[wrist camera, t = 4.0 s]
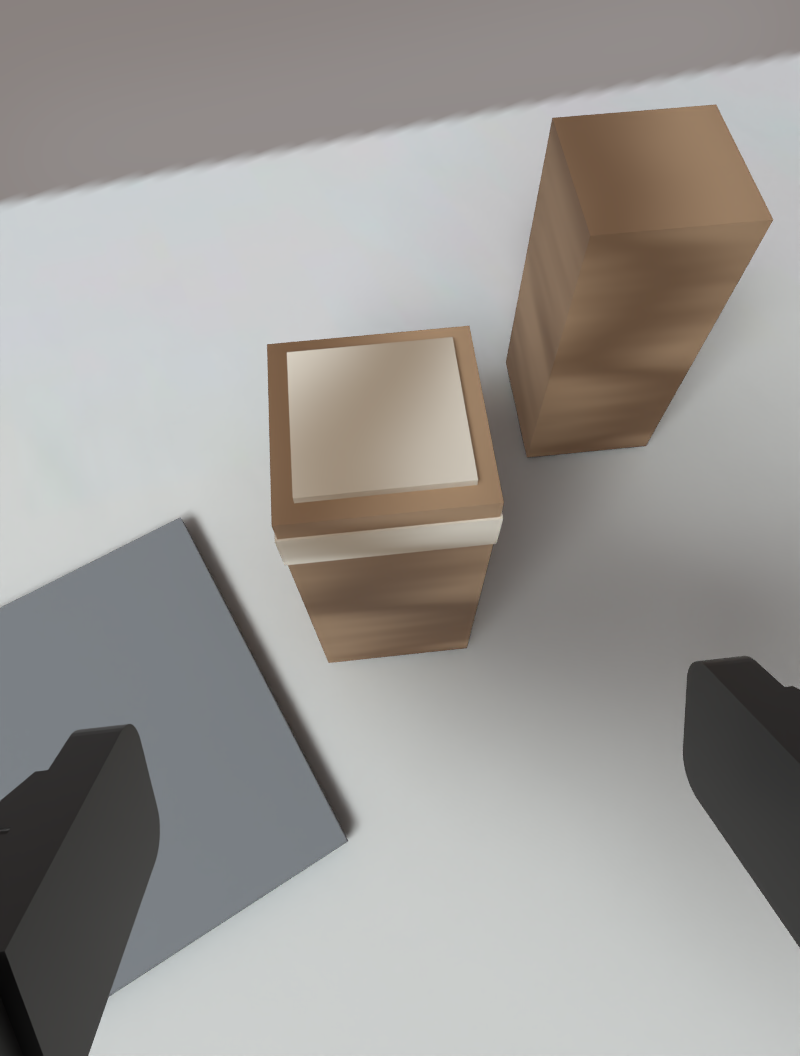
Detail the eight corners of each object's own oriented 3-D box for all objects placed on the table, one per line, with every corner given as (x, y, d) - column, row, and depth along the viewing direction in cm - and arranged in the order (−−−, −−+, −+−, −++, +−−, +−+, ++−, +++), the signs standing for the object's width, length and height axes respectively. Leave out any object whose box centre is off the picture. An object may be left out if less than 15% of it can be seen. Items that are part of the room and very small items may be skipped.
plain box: (616, 351, 28) (716, 104, 19) (646, 445, 26) (773, 219, 17) (505, 362, 27) (552, 117, 18) (526, 457, 25) (590, 235, 16)
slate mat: (184, 523, 24) (180, 517, 24) (348, 841, 20) (346, 840, 19) (-100, 667, 22) (-111, 663, 22) (9, 1061, 18) (-2, 1066, 17)
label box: (449, 523, 24) (471, 317, 15) (468, 649, 22) (508, 500, 13) (319, 536, 24) (263, 336, 15) (327, 664, 22) (267, 523, 13)
